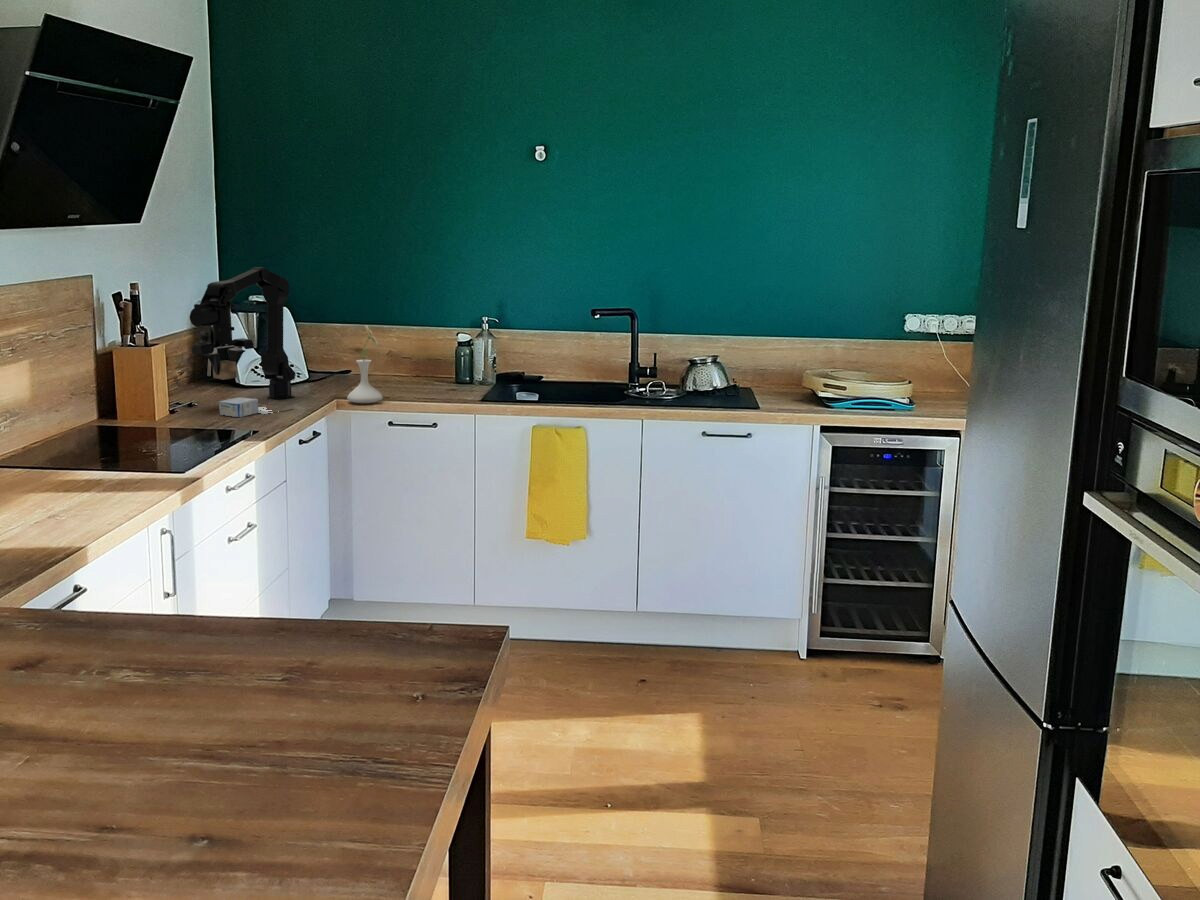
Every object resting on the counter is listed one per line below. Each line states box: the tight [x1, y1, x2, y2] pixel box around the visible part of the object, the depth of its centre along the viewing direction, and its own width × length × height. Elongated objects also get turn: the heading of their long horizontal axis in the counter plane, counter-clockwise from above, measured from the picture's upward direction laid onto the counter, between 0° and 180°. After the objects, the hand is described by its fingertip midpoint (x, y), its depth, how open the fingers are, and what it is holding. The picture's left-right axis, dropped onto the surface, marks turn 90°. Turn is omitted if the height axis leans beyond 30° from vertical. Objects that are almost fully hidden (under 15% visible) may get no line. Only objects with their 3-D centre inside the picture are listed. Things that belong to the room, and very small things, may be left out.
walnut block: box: [212, 360, 238, 381], centre depth 363 cm, size 5×5×5 cm
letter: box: [257, 407, 280, 415], centre depth 366 cm, size 12×14×1 cm
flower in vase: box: [346, 324, 383, 404], centre depth 378 cm, size 13×11×25 cm
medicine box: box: [218, 396, 259, 418], centre depth 357 cm, size 8×4×9 cm
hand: (225, 373), depth 363 cm, fingers closed on walnut block, 5 cm apart
